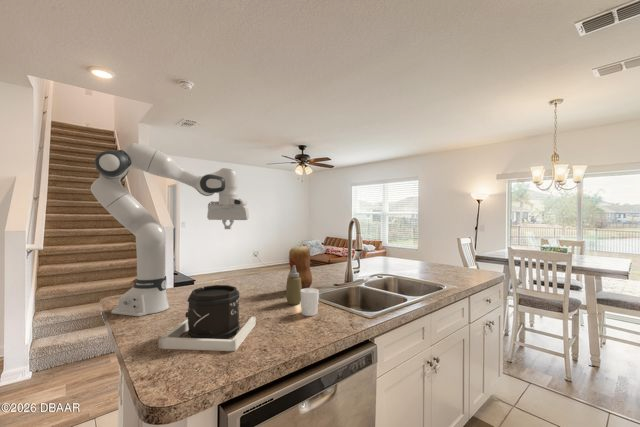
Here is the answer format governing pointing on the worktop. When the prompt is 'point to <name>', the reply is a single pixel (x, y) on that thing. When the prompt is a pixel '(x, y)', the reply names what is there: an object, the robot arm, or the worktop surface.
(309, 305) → the white cup
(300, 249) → the butternut squash
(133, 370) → the worktop surface
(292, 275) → the squeeze bottle
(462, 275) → the worktop surface
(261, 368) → the worktop surface
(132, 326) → the worktop surface
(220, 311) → the black short wide cylinder
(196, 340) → the bay
